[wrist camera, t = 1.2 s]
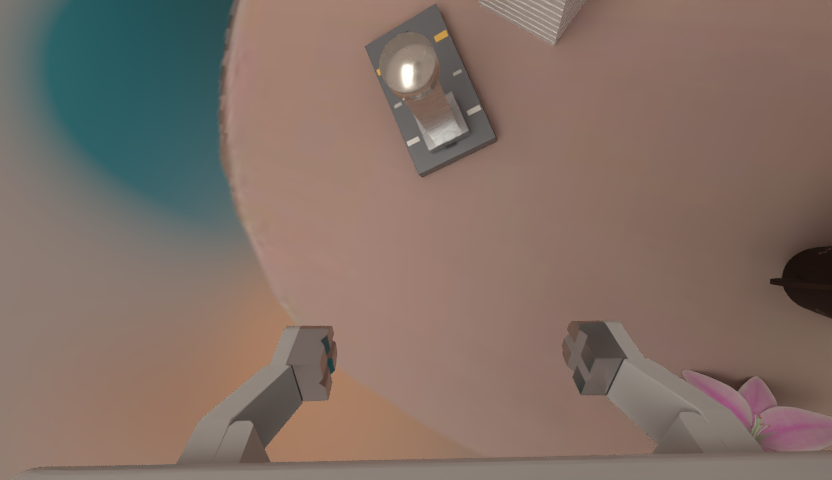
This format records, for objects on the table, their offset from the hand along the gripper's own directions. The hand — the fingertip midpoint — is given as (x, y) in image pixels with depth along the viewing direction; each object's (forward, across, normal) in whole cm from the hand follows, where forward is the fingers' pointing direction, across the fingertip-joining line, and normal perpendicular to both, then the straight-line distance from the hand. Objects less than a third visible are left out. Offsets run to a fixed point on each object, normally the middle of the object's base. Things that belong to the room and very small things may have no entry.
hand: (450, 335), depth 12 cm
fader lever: (+34, -3, +1) cm, 34 cm away
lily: (+13, -32, +26) cm, 43 cm away
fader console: (+39, -1, -1) cm, 39 cm away
